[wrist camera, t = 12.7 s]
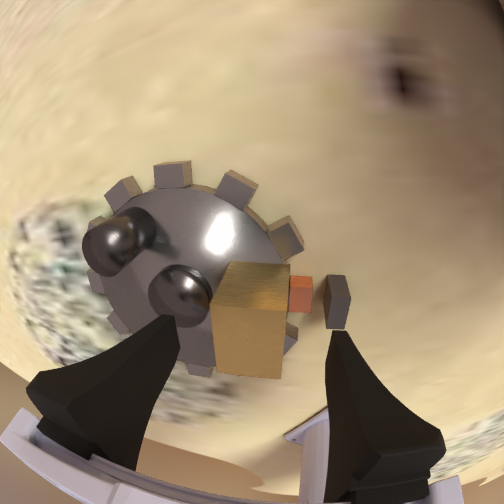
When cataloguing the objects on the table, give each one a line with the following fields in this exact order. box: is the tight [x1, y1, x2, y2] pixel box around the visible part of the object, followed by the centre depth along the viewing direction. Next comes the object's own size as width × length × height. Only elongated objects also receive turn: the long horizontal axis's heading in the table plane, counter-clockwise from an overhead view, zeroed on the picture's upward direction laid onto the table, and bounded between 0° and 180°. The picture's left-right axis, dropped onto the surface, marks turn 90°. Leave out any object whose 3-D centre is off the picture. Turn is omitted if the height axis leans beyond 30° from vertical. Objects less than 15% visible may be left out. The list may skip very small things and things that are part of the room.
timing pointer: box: [324, 275, 351, 329], centre depth 15 cm, size 1×2×2 cm, turn 1°
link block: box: [210, 261, 290, 379], centre depth 13 cm, size 4×3×4 cm
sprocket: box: [82, 161, 313, 377], centre depth 15 cm, size 14×14×5 cm
